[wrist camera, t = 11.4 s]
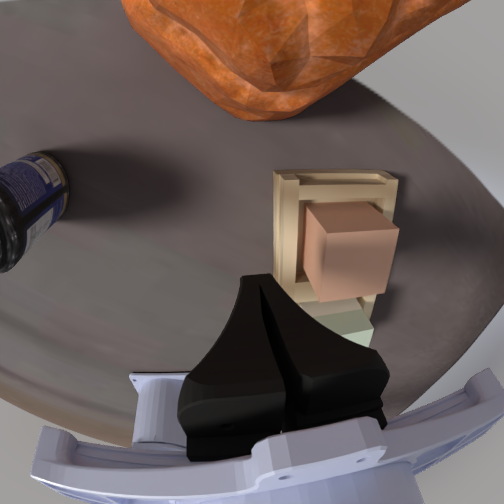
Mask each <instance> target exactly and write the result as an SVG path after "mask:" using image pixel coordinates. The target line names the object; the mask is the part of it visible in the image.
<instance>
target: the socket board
mask: <svg viewBox="0 0 504 504" xmlns="http://www.w3.org/2000/svg"><path fill="white" fill-rule="evenodd" d="M273 178H274V273H273V277H274V278H275V280H276V281H277V282H278V283H279V285H280V286H281V287H282V288H283V289H284V291H285V292H286V293H287V294H288V295H289V296H290V297H291V298H292V299H293V300H294V301H295V302H296V303H297V304H298V303H301V302H310V301H318V298H317V296H316V294H315V292H314V290H313V287H312V285H311V283H310V281H309V279H308V277H307V275H306V272H305V270H304V268H303V266H302V264H301V255H302V238H303V217H304V203H321V202H351V201H366V202H367V203H369V204H370V205H371V206H372V207H374V208H375V209H376V210H377V211H379V212H380V213H381V214H382V215H384V216H385V217H386V218H387V219H388V220H390V221H391V222H392V220H393V214H394V208H395V202H396V195H397V187H398V179H396V178H394V177H393V176H391V175H390V174H389V173H387V172H385V171H383V170H357V169H306V170H273ZM376 295H377V294H375V295H369V296H362V297H356V299H357V301H358V303H359V304H360V306H361V308H362V309H363V311H364V313H365V314H366V316H367V318H368V319H369V320H370V317H371V313H372V310H373V306H374V302H375V299H376Z"/></svg>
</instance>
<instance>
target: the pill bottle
mask: <svg viewBox="0 0 504 504" xmlns="http://www.w3.org/2000/svg"><path fill="white" fill-rule="evenodd" d="M68 201H69V184H68V178H67V176H66V173H65V171H64V169H63V167H62V165H61V164H60V163H59V162H58V161H57V160H56V159H55V158H54V157H53V156H51V155H49V154H46V153H43V152H33V153H30V154H28V155H26V156H24V157H22V158H20V159H17V160H15V161H13V162H11V163H9V164H7V165H5V166H3V167H1V168H0V274H1V273H4V272H7V271H9V270H10V269H12V268H13V267H14V266H15V265H16V264H17V262H18V261H19V260H20V259H21V258H22V256H23V255H24V254H25V253H26V252H27V251H28V250H29V249H30V248H31V246H32V245H33V244H34V243H35V242H36V241H37V240H38V239H39V238H40V237H41V236H42V235H43V234H44V233H45V232H46V231H47V230H48V229H49V228H50V227H51V226H52V225H53V224H54V223H55V222H56V221H57V220H58V219H59V218H60V217H61V215H62V214H63V213H64V211H65V210H66V208H67V205H68Z"/></svg>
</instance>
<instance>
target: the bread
mask: <svg viewBox="0 0 504 504" xmlns="http://www.w3.org/2000/svg"><path fill="white" fill-rule="evenodd" d="M121 1H122V5H123V7H124V11H125V13H126V15H127V17H128V19H129V22H130V24H131V26H132V28H133V29H134V30H135V31H136V32H137V33H138V34H139V35H140V36H142V37H143V38H144V39H145V40H146V41H147V42H148V43H149V44H150V45H151V46H152V47H153V48H154V49H155V50H156V51H157V52H158V53H159V54H160V55H161V56H162V57H163V58H164V59H165V60H166V61H167V62H168V63H169V64H170V65H171V66H172V67H173V68H174V69H175V70H176V71H177V72H178V73H180V74H181V75H182V76H183V77H184V78H185V79H186V80H187V81H189V82H190V83H191V84H192V85H194V86H195V87H196V88H197V89H198V90H199V91H201V92H202V93H203V94H204V95H205V96H207V97H208V98H209V99H210V100H211V101H212V102H214V103H215V104H217V105H218V106H219V107H221V108H222V109H224V110H225V111H227V112H228V113H229V114H231V115H232V116H234V117H236V118H239V119H243V120H247V121H253V122H254V121H270V120H283V119H286V118H289V117H292V116H295V115H297V114H299V113H301V112H302V111H303V110H305V109H306V108H307V107H308V106H310V105H311V104H313V103H315V102H316V101H318V100H319V99H321V98H323V97H324V96H326V95H328V94H329V93H331V92H332V91H334V90H335V89H337V88H338V87H340V86H341V85H343V84H344V83H345V82H347V81H348V80H349V79H351V78H352V77H354V76H355V75H356V74H358V73H359V72H361V71H362V70H363V69H365V68H366V67H368V66H369V65H370V64H372V63H373V62H375V61H376V60H377V59H379V58H380V57H382V56H383V55H385V54H386V53H387V52H389V51H390V50H392V49H393V48H394V47H396V46H397V45H399V44H400V43H402V42H403V41H405V40H406V39H408V38H409V37H410V36H412V35H414V34H415V33H416V32H418V31H420V30H421V29H423V28H424V27H426V26H427V25H429V24H430V23H432V22H434V21H435V20H437V19H438V18H440V17H442V16H444V15H446V14H448V13H449V12H451V11H453V10H455V9H457V8H459V7H461V6H462V5H464V4H465V3H467V2H469V1H470V0H121Z"/></svg>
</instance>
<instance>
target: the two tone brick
mask: <svg viewBox="0 0 504 504" xmlns="http://www.w3.org/2000/svg"><path fill="white" fill-rule="evenodd" d="M298 305H299V306H300V307H301V308H302V309H303V310H304V311H305V312H307V313H308V314H309V315H310V316H311V317H313V318H314V319H315V320H317V321H318V322H319V323H321V324H322V325H324V326H325V327H327V328H328V329H330V330H332V331H333V332H335V333H337V334H339V335H341V336H342V337H344V338H347V339H349V340H351V341H353V342H355V343H357V344H360V345H363V346H365V347H368V346H369V343H370V340H371V337H372V334H373V330H374V328H373V326H372V324H371V323H370V321H369V319H368V318H367V316H366V314H365V313H364V311H363V309H362V308H361V306H360V304H359V303H358V301H357V299H356V298H349V299H342V300H335V301H327V302H319V300H318V301H310V302H301V303H298Z"/></svg>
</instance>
